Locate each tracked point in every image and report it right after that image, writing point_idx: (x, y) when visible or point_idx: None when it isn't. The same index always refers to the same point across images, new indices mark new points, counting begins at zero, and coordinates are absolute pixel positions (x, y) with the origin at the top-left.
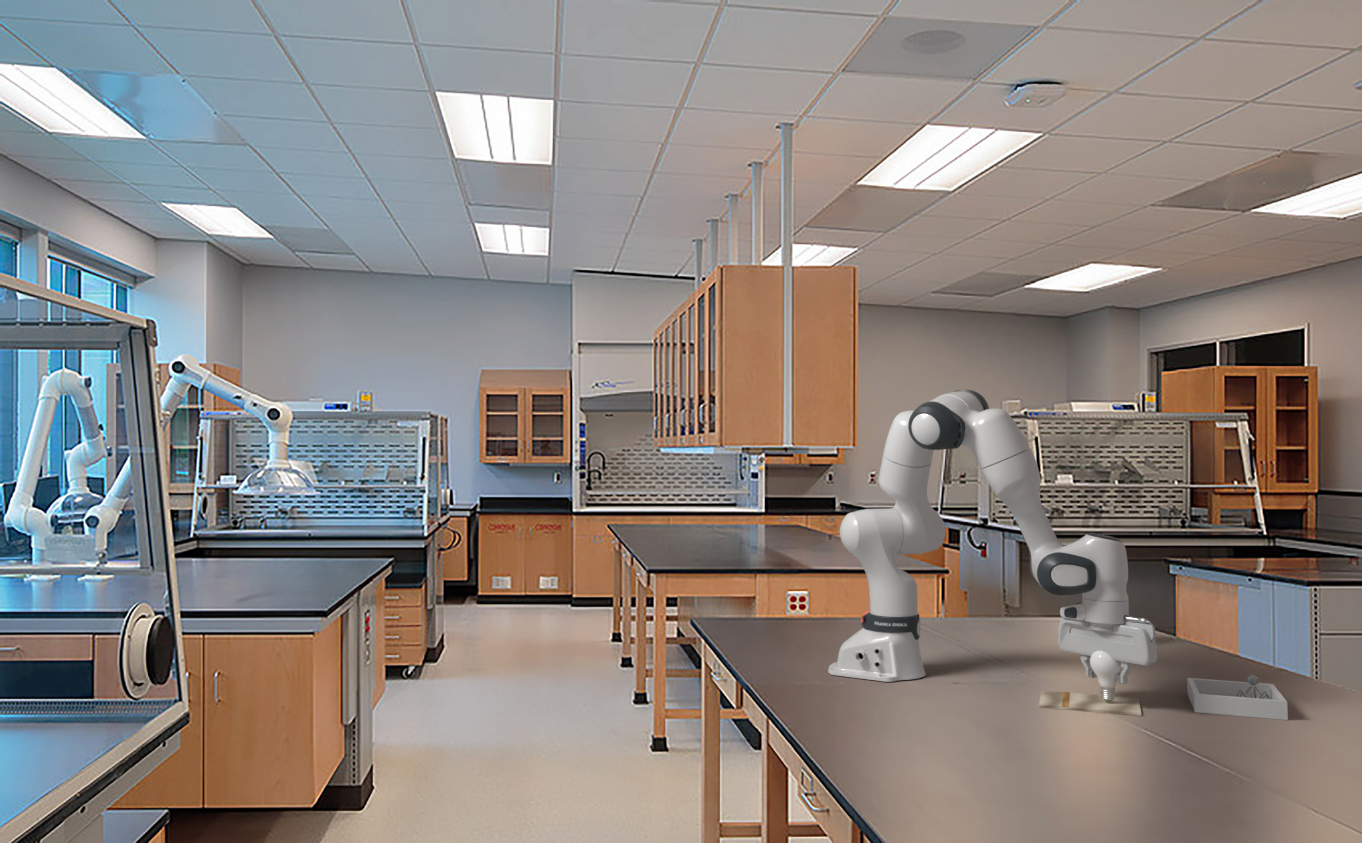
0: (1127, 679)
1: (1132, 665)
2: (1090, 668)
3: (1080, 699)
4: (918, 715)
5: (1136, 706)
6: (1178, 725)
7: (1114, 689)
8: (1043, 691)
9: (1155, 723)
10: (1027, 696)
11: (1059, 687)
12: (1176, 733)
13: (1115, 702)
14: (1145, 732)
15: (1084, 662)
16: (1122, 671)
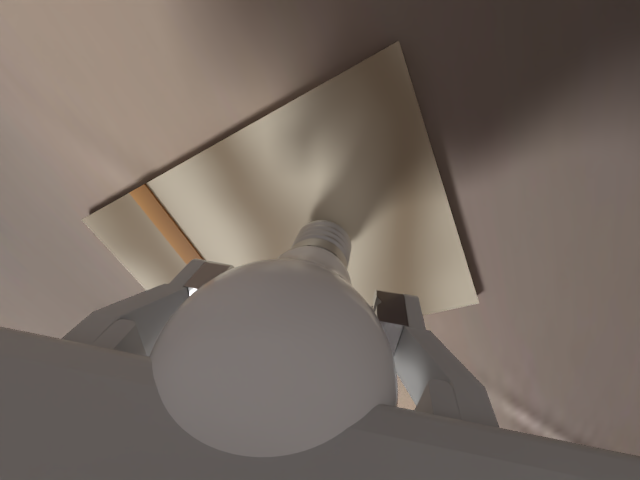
0: (420, 307)
1: (485, 401)
2: None
3: (237, 253)
4: None
5: (437, 220)
6: (618, 334)
7: (347, 267)
8: (95, 227)
9: (535, 347)
10: (113, 282)
11: (23, 69)
12: (605, 401)
13: (345, 213)
14: (516, 421)
15: (149, 351)
16: (413, 392)
